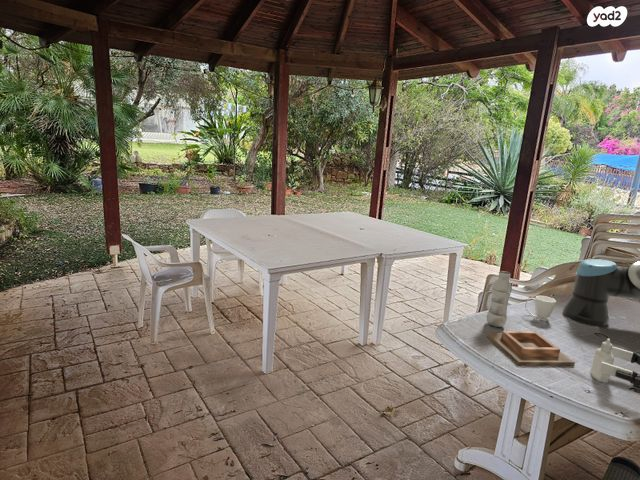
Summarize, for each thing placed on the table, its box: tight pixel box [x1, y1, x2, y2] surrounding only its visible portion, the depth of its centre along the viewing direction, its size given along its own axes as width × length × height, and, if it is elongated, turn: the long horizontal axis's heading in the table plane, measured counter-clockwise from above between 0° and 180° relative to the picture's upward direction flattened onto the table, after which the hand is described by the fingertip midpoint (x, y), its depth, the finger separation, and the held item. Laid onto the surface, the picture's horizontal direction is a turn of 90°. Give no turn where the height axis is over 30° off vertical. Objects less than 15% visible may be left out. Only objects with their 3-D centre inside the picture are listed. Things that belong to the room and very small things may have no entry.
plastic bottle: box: [486, 270, 513, 328], centre depth 143 cm, size 6×7×20 cm
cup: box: [524, 295, 557, 322], centre depth 154 cm, size 7×10×8 cm
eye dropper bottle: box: [590, 338, 615, 383], centre depth 113 cm, size 4×6×12 cm
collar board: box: [486, 330, 576, 367], centre depth 127 cm, size 18×18×4 cm
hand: (602, 357), depth 113 cm, fingers open, 13 cm apart
